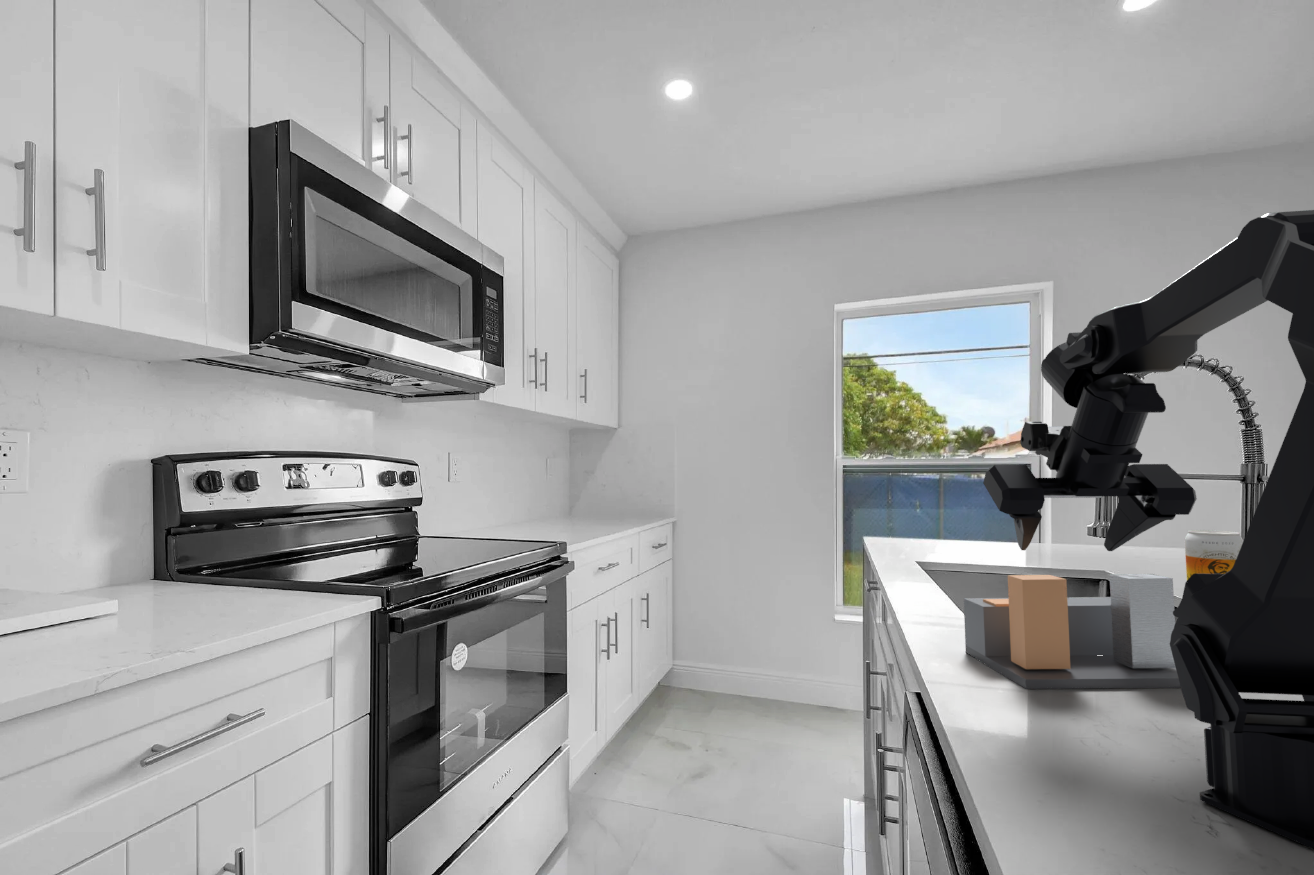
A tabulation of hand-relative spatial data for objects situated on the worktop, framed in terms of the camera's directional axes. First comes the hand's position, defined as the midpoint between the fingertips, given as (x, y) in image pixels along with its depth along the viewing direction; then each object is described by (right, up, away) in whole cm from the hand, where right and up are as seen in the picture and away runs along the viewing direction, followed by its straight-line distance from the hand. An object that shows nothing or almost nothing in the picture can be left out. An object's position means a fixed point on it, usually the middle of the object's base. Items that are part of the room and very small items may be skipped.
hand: (1064, 548), depth 72 cm
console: (+3, -15, +3) cm, 16 cm away
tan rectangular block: (-3, -13, 0) cm, 14 cm away
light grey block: (+9, -13, 0) cm, 16 cm away
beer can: (+29, -15, +13) cm, 35 cm away
